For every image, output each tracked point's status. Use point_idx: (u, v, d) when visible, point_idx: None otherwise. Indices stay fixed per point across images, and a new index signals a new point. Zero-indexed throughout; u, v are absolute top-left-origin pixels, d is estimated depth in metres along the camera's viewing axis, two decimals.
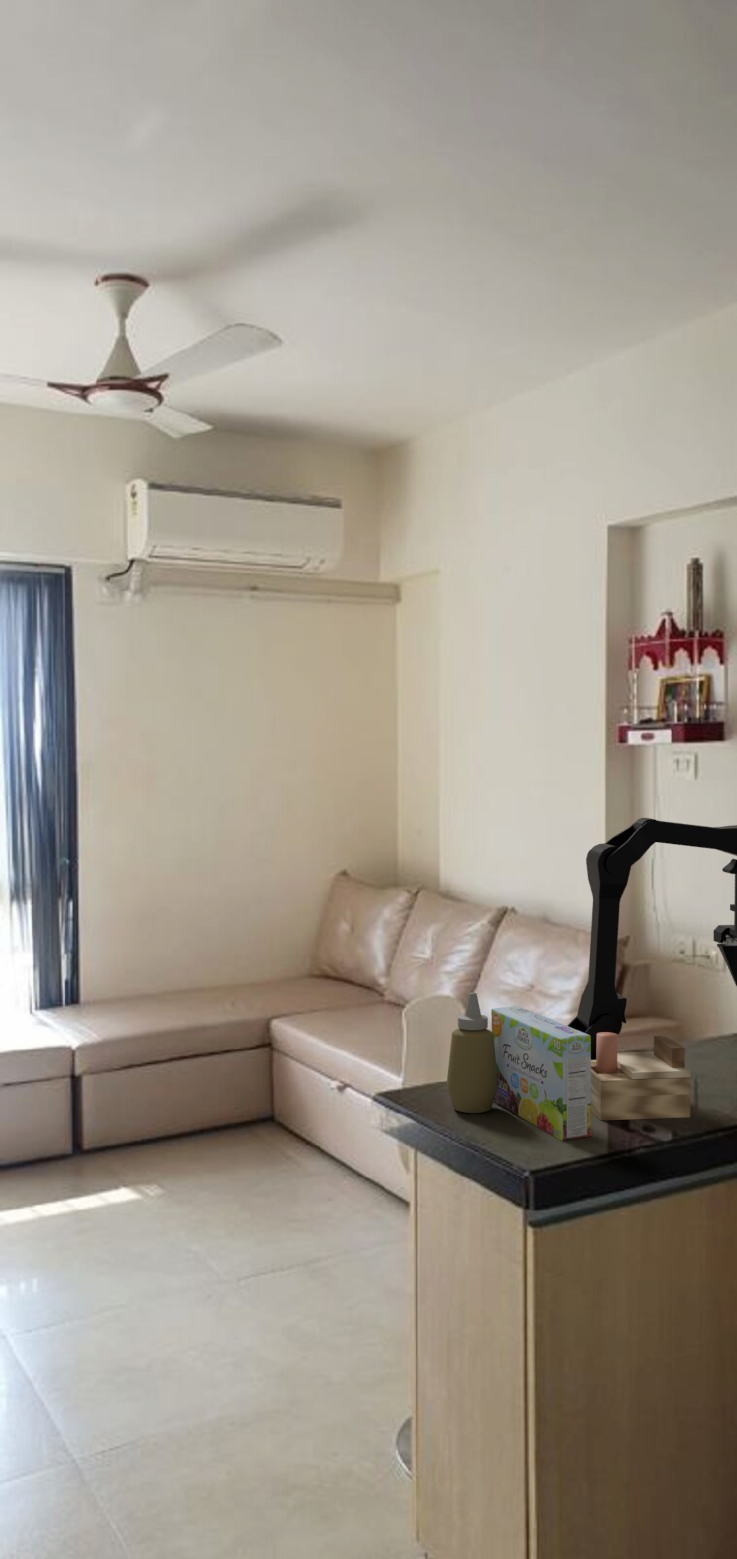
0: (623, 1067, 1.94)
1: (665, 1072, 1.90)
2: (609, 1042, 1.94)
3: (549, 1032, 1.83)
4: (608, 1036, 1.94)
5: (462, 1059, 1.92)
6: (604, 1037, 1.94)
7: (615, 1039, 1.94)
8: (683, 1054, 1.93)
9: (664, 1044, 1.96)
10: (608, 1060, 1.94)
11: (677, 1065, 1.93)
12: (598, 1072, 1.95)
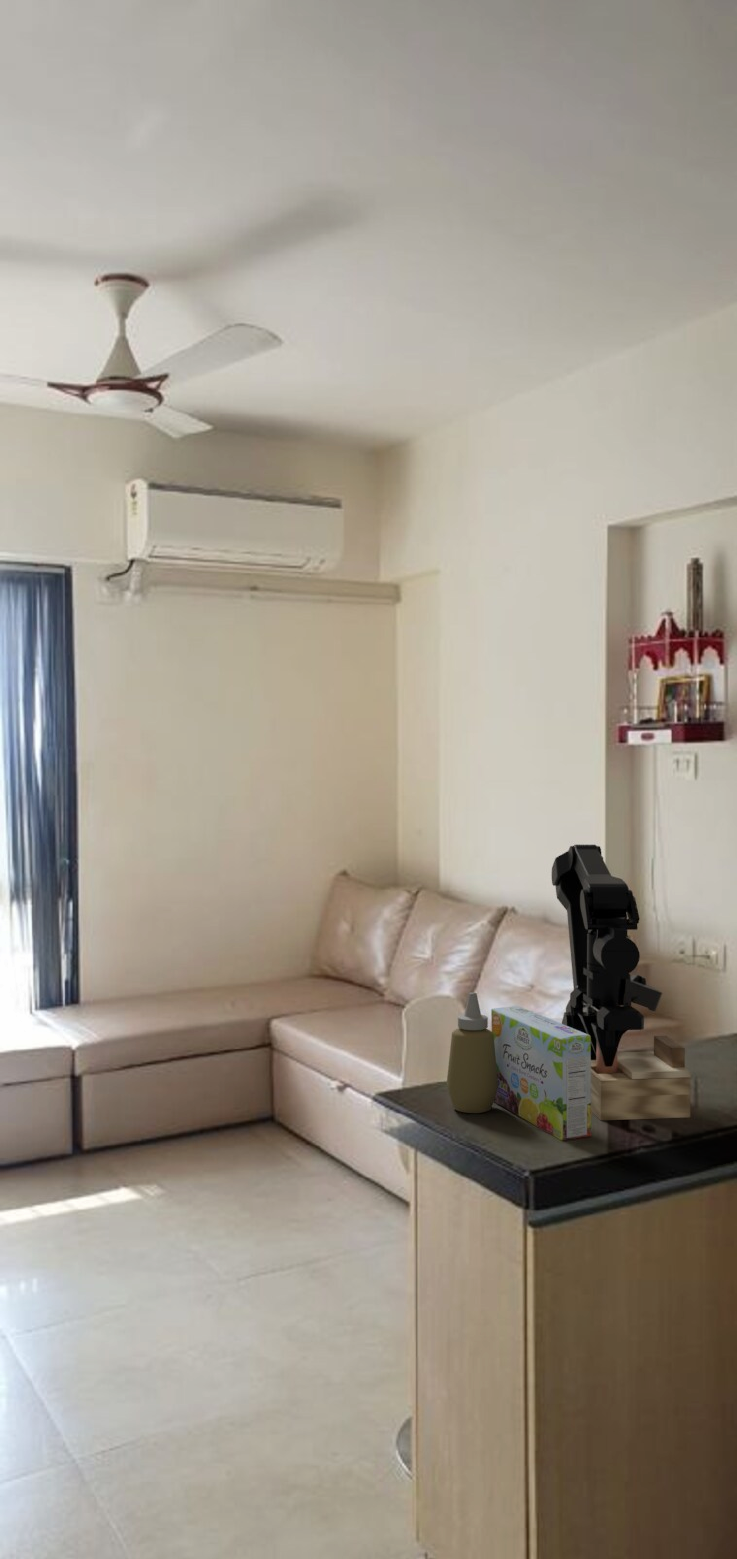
0: (623, 1067, 1.94)
1: (665, 1072, 1.90)
2: None
3: (549, 1032, 1.83)
4: None
5: (462, 1059, 1.92)
6: None
7: None
8: (683, 1054, 1.93)
9: (664, 1044, 1.96)
10: None
11: (677, 1065, 1.93)
12: (598, 1072, 1.95)
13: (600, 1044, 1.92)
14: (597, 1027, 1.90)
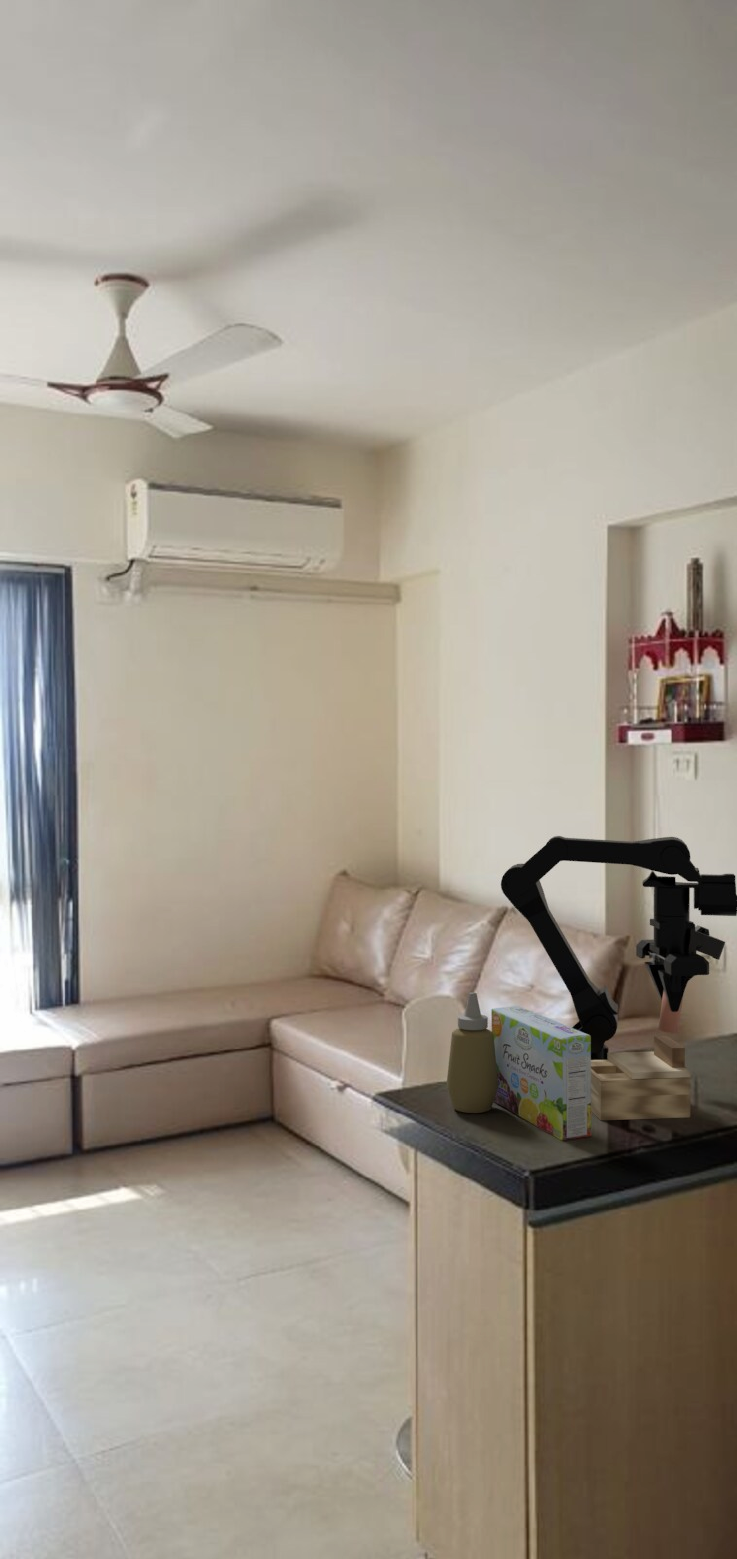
0: (623, 1067, 1.94)
1: (665, 1072, 1.90)
2: None
3: (549, 1032, 1.83)
4: None
5: (462, 1059, 1.92)
6: None
7: None
8: (683, 1054, 1.93)
9: (664, 1044, 1.96)
10: None
11: (677, 1065, 1.93)
12: (662, 1016, 2.06)
13: (667, 990, 2.03)
14: (664, 973, 2.01)
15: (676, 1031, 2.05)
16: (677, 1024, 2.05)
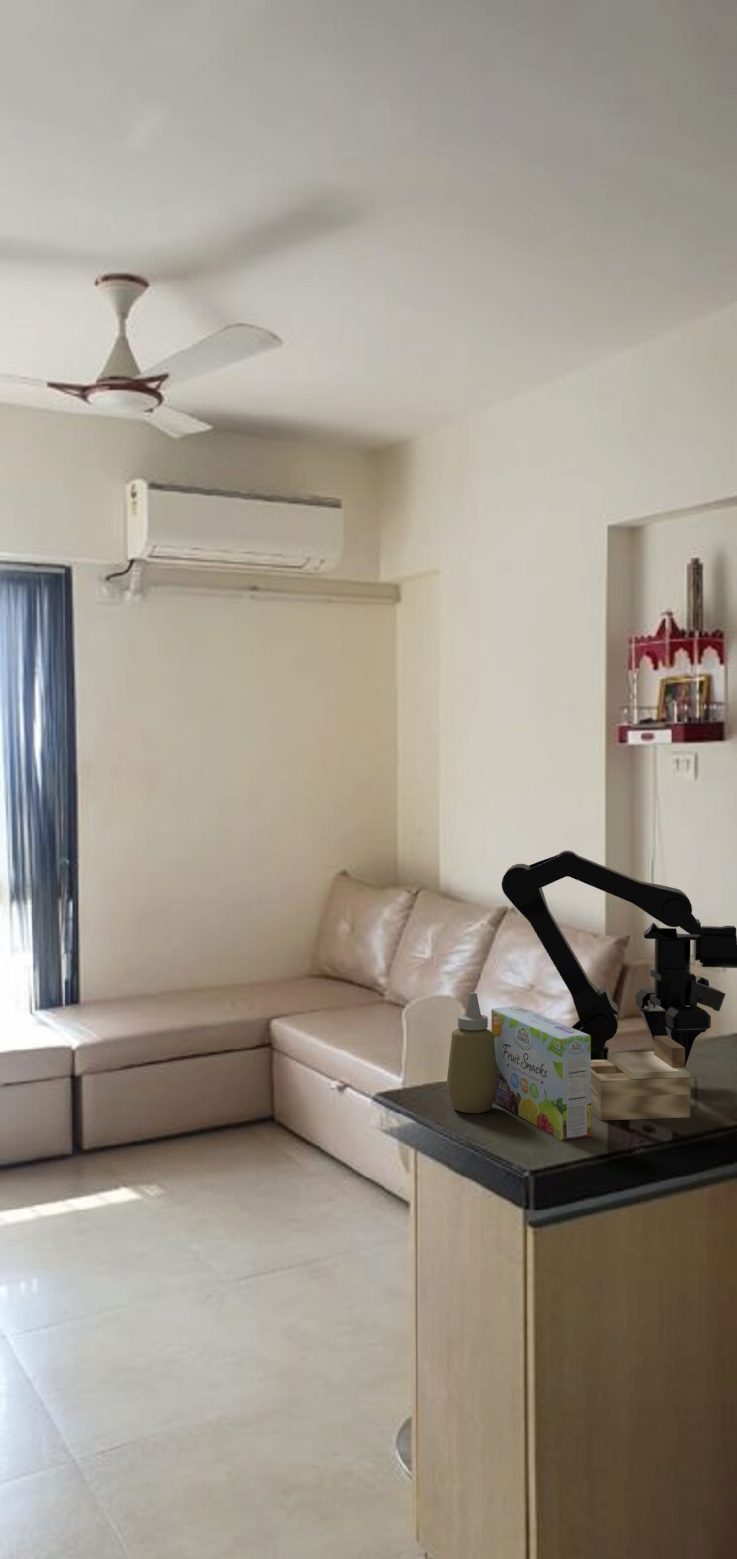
0: (623, 1067, 1.94)
1: (665, 1072, 1.90)
2: None
3: (549, 1032, 1.83)
4: None
5: (462, 1059, 1.92)
6: None
7: None
8: (683, 1054, 1.93)
9: (664, 1044, 1.96)
10: None
11: (677, 1065, 1.93)
12: None
13: None
14: (672, 1030, 1.99)
15: None
16: None
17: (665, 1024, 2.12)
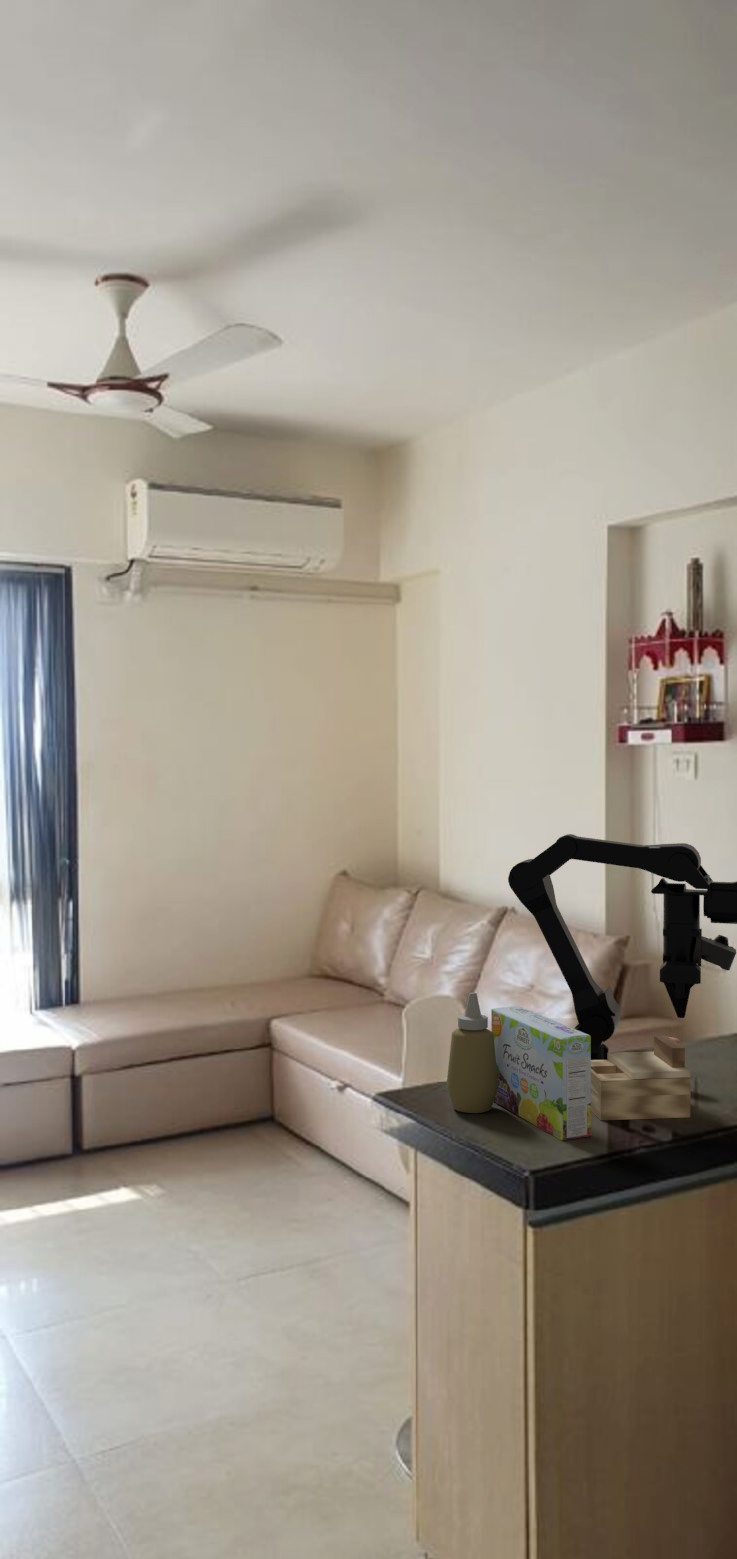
0: (623, 1067, 1.94)
1: (665, 1072, 1.90)
2: None
3: (549, 1032, 1.83)
4: None
5: (462, 1059, 1.92)
6: None
7: None
8: (683, 1054, 1.93)
9: (664, 1044, 1.96)
10: None
11: (677, 1065, 1.93)
12: None
13: (670, 995, 2.03)
14: None
15: None
16: None
17: None
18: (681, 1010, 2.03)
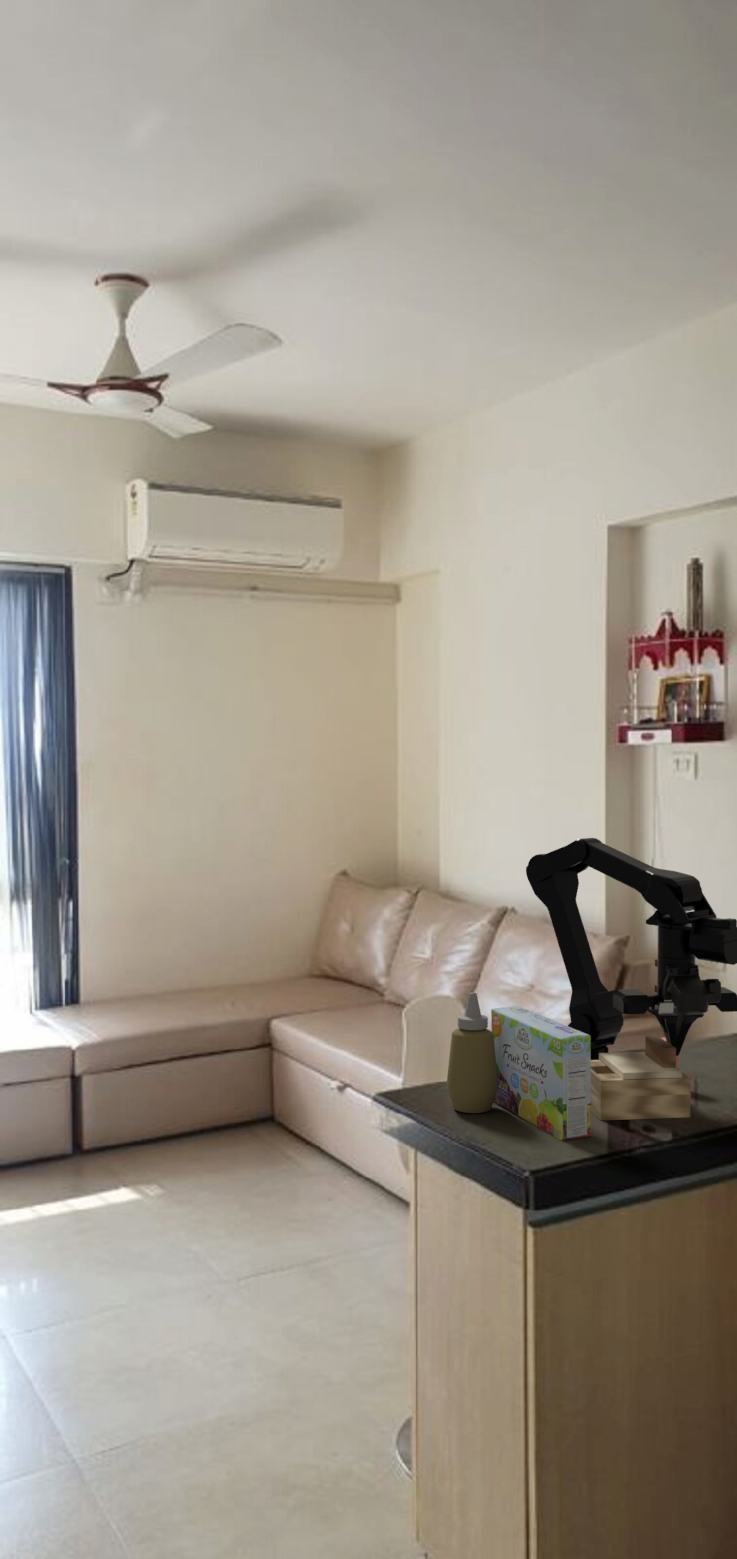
0: (614, 1067, 1.93)
1: (656, 1072, 1.90)
2: None
3: (549, 1032, 1.83)
4: None
5: (462, 1059, 1.92)
6: None
7: None
8: (674, 1054, 1.92)
9: (655, 1044, 1.95)
10: None
11: (668, 1065, 1.92)
12: None
13: (662, 1029, 1.98)
14: (648, 1008, 1.99)
15: None
16: None
17: (680, 1025, 1.96)
18: None
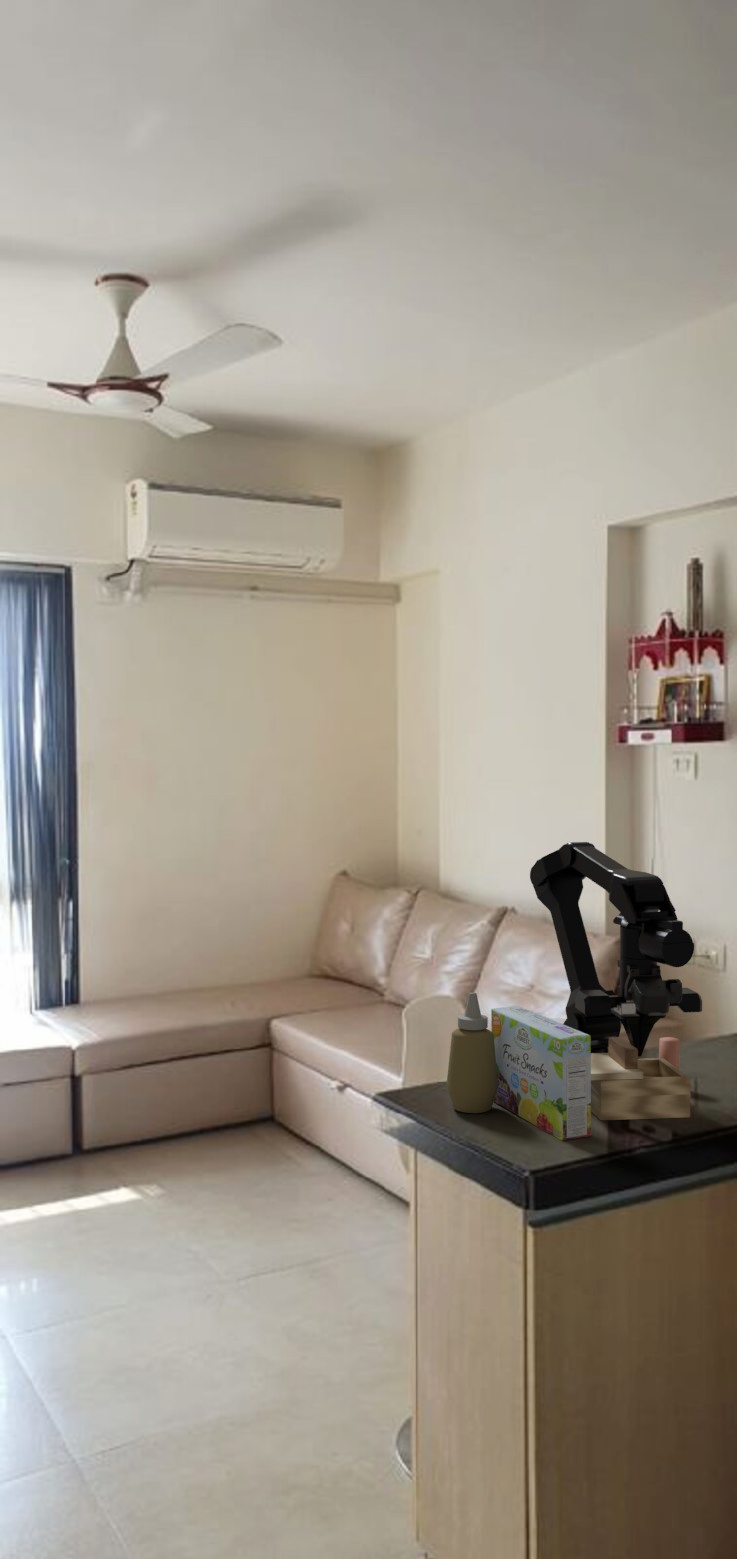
0: None
1: (617, 1073, 1.89)
2: (671, 1046, 2.05)
3: (549, 1032, 1.83)
4: (670, 1041, 2.06)
5: (462, 1059, 1.92)
6: (666, 1042, 2.05)
7: (677, 1043, 2.06)
8: (636, 1055, 1.92)
9: (618, 1045, 1.95)
10: None
11: (630, 1066, 1.92)
12: None
13: (625, 1030, 1.97)
14: None
15: None
16: None
17: (642, 1026, 1.95)
18: None
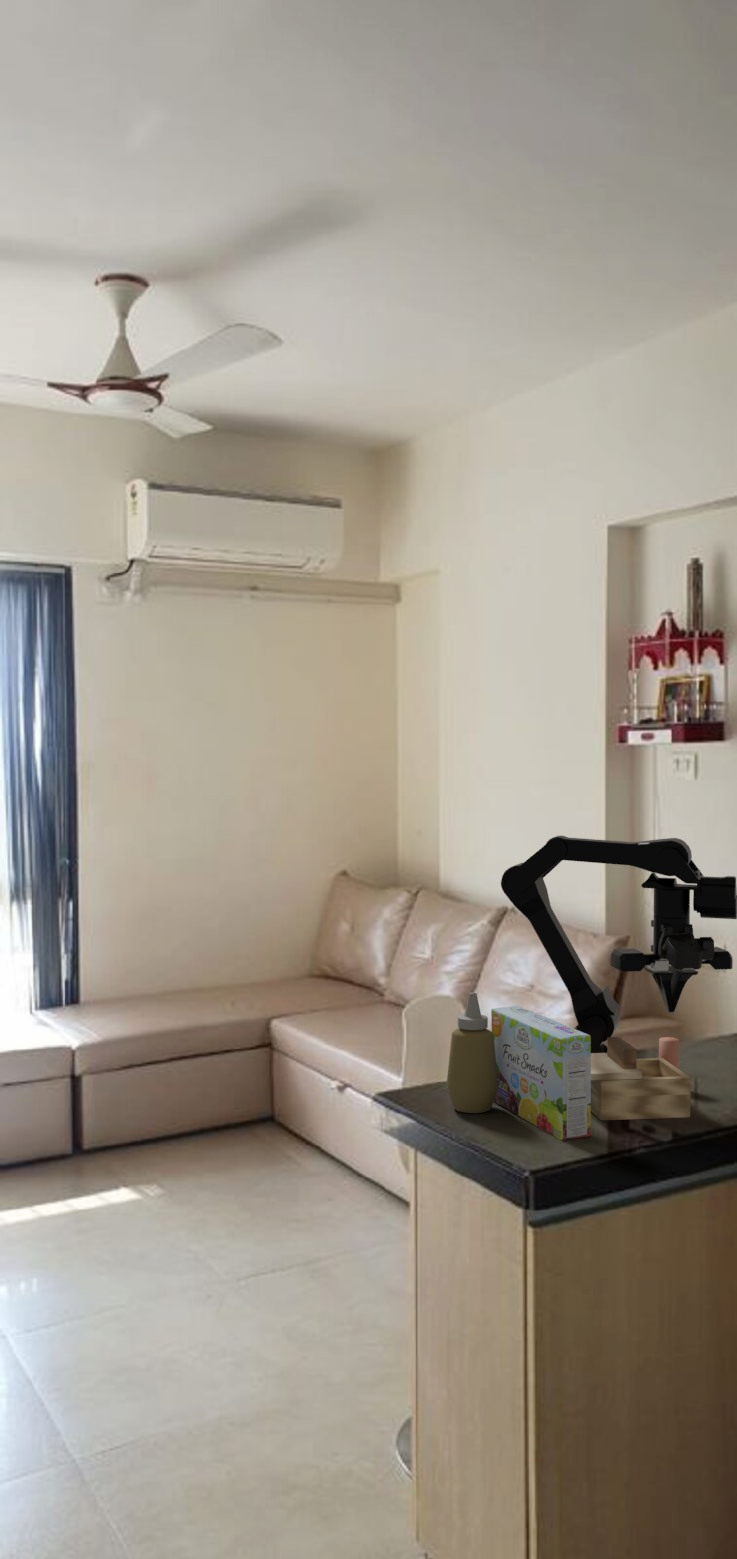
0: None
1: (616, 1073, 1.89)
2: (671, 1046, 2.05)
3: (549, 1032, 1.83)
4: (670, 1041, 2.06)
5: (462, 1059, 1.92)
6: (666, 1042, 2.05)
7: (677, 1043, 2.06)
8: (635, 1055, 1.92)
9: (616, 1045, 1.95)
10: None
11: (629, 1066, 1.92)
12: None
13: (658, 987, 2.06)
14: None
15: None
16: None
17: (675, 983, 2.04)
18: (666, 1004, 2.04)
